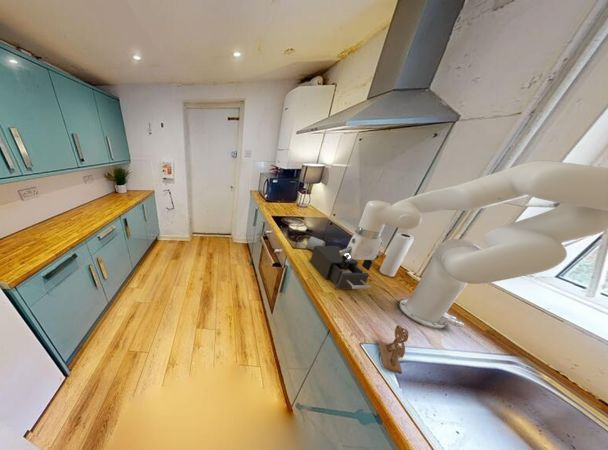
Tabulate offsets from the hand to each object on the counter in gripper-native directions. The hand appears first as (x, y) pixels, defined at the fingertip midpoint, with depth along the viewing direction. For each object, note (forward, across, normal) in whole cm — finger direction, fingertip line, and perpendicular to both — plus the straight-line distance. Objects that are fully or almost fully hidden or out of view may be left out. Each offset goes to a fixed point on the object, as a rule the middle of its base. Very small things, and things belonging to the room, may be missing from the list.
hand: (354, 268), depth 84 cm
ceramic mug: (+10, +3, +32) cm, 34 cm away
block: (+6, 0, 0) cm, 6 cm away
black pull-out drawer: (+10, 0, +2) cm, 10 cm away
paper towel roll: (+11, +28, +10) cm, 32 cm away
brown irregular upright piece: (+11, -8, -30) cm, 33 cm away
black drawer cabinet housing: (+10, 0, +13) cm, 16 cm away
